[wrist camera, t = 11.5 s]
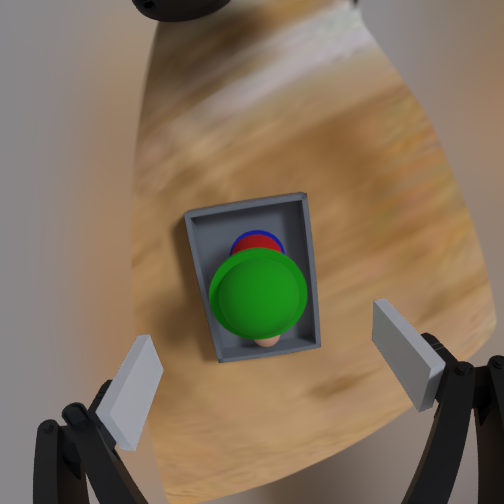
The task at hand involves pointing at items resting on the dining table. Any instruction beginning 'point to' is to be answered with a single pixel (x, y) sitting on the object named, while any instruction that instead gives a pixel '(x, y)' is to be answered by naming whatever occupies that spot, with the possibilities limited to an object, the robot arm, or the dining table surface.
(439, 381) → the robot arm
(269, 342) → the ball
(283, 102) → the dining table surface
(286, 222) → the tray
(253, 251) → the toy
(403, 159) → the dining table surface
